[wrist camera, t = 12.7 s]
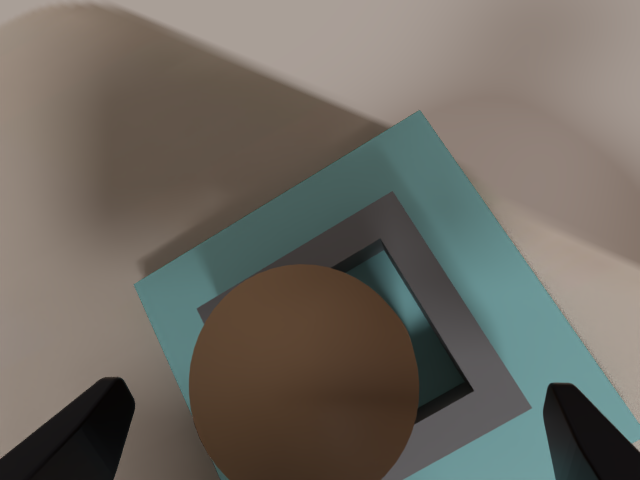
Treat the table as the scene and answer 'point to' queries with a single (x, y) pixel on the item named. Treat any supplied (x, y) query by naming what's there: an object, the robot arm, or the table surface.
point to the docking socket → (410, 301)
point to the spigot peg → (303, 379)
